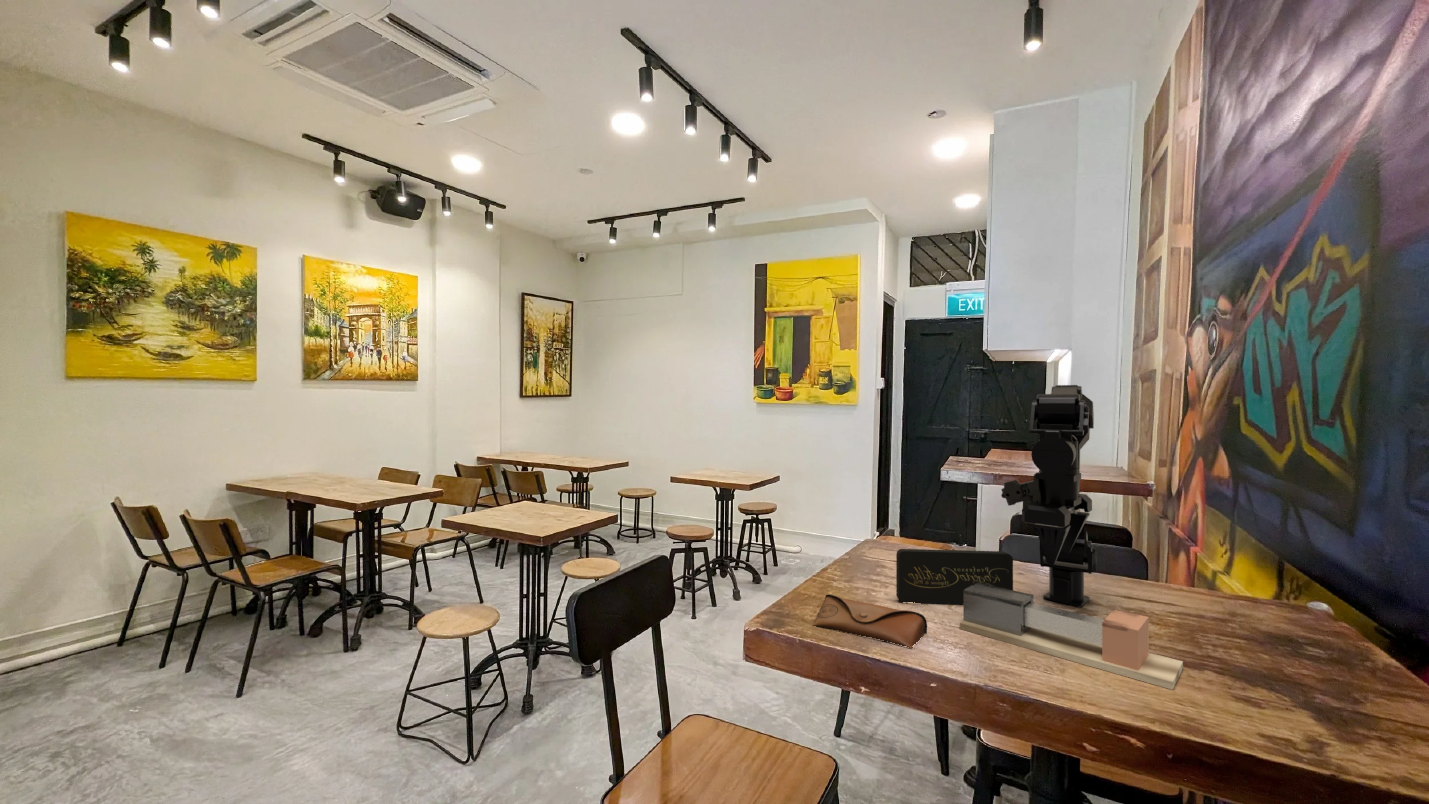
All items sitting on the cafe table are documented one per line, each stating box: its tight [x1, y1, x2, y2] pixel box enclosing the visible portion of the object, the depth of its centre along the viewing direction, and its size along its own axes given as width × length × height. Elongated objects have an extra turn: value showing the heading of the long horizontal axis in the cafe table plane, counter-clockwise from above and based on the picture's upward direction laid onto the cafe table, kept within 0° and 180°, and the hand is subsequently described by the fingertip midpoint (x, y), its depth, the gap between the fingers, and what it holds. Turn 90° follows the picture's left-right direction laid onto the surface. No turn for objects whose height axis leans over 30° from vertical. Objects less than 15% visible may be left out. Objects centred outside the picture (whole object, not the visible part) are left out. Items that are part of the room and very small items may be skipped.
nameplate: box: [895, 548, 1014, 606], centre depth 107 cm, size 21×2×10 cm, turn 85°
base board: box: [959, 620, 1184, 691], centre depth 88 cm, size 9×28×1 cm, turn 44°
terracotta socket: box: [1102, 609, 1150, 670], centre depth 82 cm, size 7×4×6 cm, turn 134°
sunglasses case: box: [810, 594, 928, 649], centre depth 95 cm, size 18×7×7 cm
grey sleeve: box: [962, 583, 1034, 636], centre depth 94 cm, size 6×9×5 cm, turn 44°
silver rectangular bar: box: [1023, 602, 1105, 646], centre depth 87 cm, size 3×17×3 cm, turn 43°
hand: (1058, 558), depth 96 cm, fingers open, 9 cm apart
